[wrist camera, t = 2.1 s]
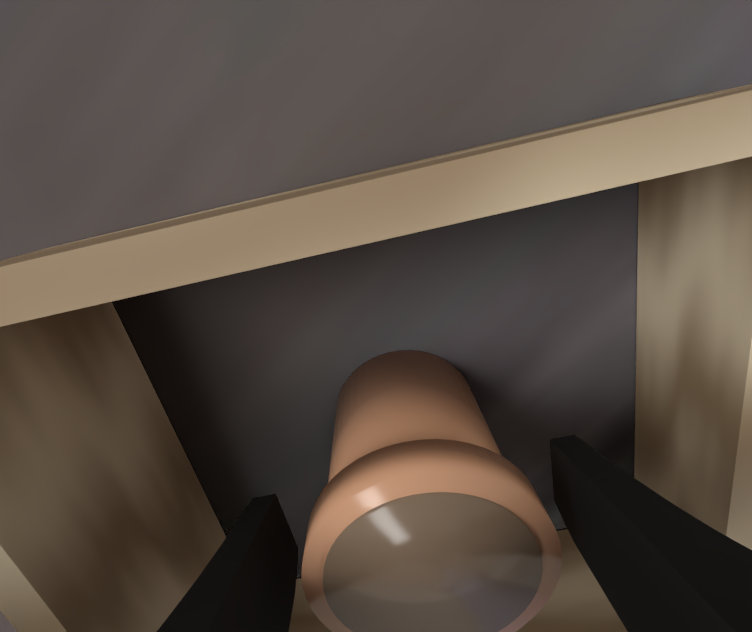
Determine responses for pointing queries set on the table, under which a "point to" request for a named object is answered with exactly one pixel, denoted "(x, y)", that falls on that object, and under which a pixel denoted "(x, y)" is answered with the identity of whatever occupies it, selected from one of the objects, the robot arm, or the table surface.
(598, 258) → the table surface
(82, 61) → the table surface
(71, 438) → the cold frame
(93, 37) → the table surface
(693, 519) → the robot arm
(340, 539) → the terracotta flower pot
